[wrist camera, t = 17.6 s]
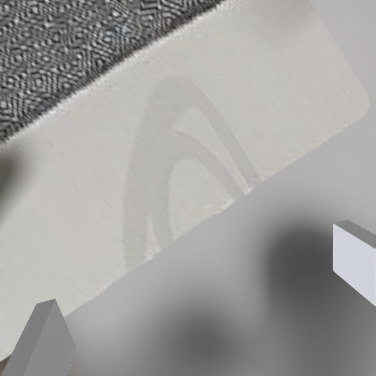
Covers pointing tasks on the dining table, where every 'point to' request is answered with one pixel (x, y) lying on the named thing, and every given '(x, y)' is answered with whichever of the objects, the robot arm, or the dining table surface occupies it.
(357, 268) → the robot arm
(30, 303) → the dining table surface
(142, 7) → the dining table surface
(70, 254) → the dining table surface
